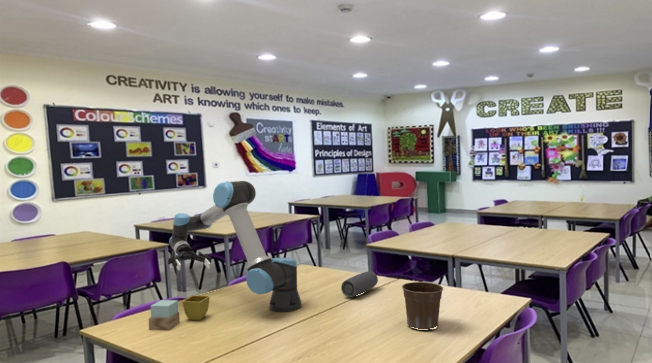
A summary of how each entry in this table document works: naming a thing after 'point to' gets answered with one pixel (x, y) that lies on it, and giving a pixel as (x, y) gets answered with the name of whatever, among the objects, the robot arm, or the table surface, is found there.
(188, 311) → the flower pot
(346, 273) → the table surface
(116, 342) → the table surface
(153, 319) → the tower base
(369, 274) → the bluetooth speaker
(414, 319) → the plant pot
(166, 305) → the tower top
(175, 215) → the robot arm
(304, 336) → the table surface
